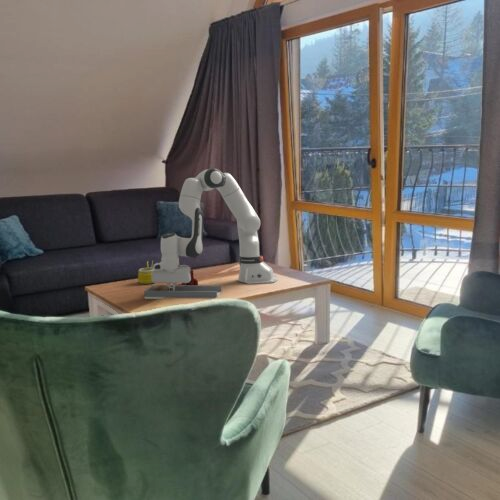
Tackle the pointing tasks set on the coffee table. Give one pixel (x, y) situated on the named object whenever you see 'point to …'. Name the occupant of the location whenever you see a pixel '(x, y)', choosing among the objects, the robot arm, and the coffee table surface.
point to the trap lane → (184, 292)
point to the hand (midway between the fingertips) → (171, 290)
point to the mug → (145, 275)
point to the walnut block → (160, 288)
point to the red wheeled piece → (193, 281)
